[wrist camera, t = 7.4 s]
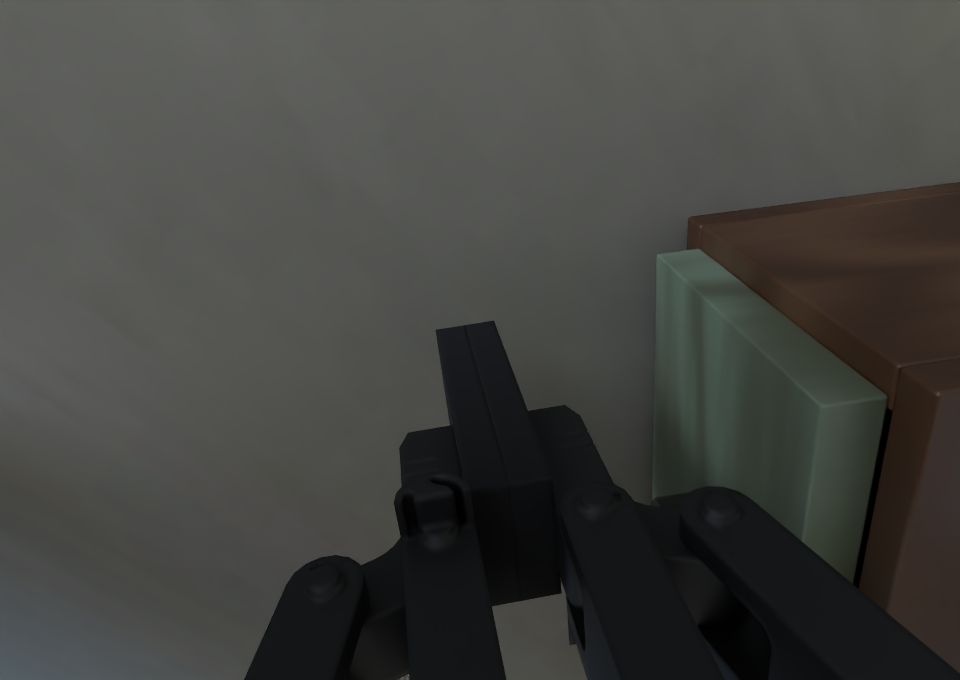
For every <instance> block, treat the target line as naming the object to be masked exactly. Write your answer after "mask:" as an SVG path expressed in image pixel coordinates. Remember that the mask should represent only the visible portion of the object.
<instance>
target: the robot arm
mask: <svg viewBox="0 0 960 680" xmlns="http://www.w3.org/2000/svg"><path fill="white" fill-rule="evenodd" d="M436 335H437V342H438V348H439V355H440V362H441V368H442V375H443V382H444V388H445V395H446V402H447V408H448V415H449V421H450V426H446V427H440V428H434V429H428V430H422V431H416V432H410V433H408V434H407V435H406V437H405V439H404V441H403V442H402V444H401V446H400V448H399V450H400V464H401V478H402V479H401V483H402V487H401V488H400V489H399V491H398V492H397V493H396V497H395V501H394V506H395V511H396V516H397V520H398V525H399V530H400V535H401V537H400V539H399V540H398V542H397V543H396V544H395V545H394V547H392V548H391V549H390V550H389V551H388V552H386V553H385V554H383V555H382V556H380V557H378V558H376V559H374V560H372V561H370V562H367V563H365V564H363V565H361V566H360V564H359V563H358V562H356V561H354V560H353V559H351V558H349V557H344V556H337V555H334V556H327V557H321V558H318V559H316V560H314V561H311V562H309V563H307V564H305V565H304V566H303V567H301V568H300V569H299V570H298V571H296V572H295V573H294V574H293V576H292V577H291V579H290V580H289V582H288V583H287V584H286V587H285V589H284V591H283V593H282V596H281V598H280V600H279V602H278V605H277V607H276V609H275V611H274V614H273V616H272V618H271V620H270V623H269V625H268V627H267V629H266V632H265V634H264V636H263V638H262V640H261V643H260V645H259V647H258V649H257V652H256V654H255V656H254V658H253V661H252V663H251V665H250V667H249V670H248V672H247V674H246V676H245V679H244V680H397V679H399V678H401V677H403V676H405V675H407V674H409V677H410V680H506V676H505V671H504V666H503V661H502V656H501V651H500V646H499V641H498V636H497V631H496V626H495V621H494V616H493V611H492V606H496V605H502V604H507V603H512V602H518V601H523V600H528V599H534V598H539V597H544V596H550V595H555V594H560V593H561V580H562V583H563V587H564V590H565V593H566V599H567V613H568V627H569V641H570V645H573V644H577V647H578V651H579V654H580V657H581V660H582V663H583V667H584V670H585V673H586V676H587V679H588V680H960V673H959V672H957V671H956V670H955V669H954V668H953V667H952V666H950V665H949V664H948V663H947V662H946V661H944V660H943V659H942V658H941V657H940V656H938V655H937V654H936V653H935V652H934V651H932V650H931V649H930V648H929V647H928V646H926V645H925V644H924V643H923V642H922V641H920V640H919V639H918V638H917V637H916V636H914V635H913V634H912V633H911V632H910V631H908V630H907V629H906V628H905V627H904V626H902V625H901V624H900V623H899V622H898V621H897V620H895V619H894V618H893V617H892V616H891V615H889V614H888V613H887V612H886V611H885V610H883V609H882V608H881V607H880V606H879V605H877V604H876V603H875V602H874V601H873V600H871V599H870V598H869V597H868V596H867V595H865V594H864V593H863V592H862V591H861V590H859V589H858V588H857V587H856V586H855V585H853V584H852V583H851V582H850V581H849V580H847V579H846V578H845V577H844V576H843V575H842V574H840V573H839V572H838V571H837V570H836V569H834V568H833V567H832V566H831V565H830V564H828V563H827V562H826V561H825V560H824V559H822V558H821V557H820V556H819V555H818V554H816V553H815V552H814V551H813V550H812V549H810V548H809V547H808V546H807V545H806V544H804V543H803V542H802V541H801V540H800V539H798V538H797V537H796V536H795V535H794V534H792V533H791V532H790V531H789V530H788V529H787V528H785V527H784V526H783V525H782V524H781V523H779V522H778V521H777V520H776V519H775V518H773V517H772V516H771V515H770V514H769V513H767V512H766V511H765V510H764V509H763V508H761V507H760V506H759V505H758V504H757V503H755V502H754V501H753V500H752V499H751V498H749V497H747V496H746V495H744V494H742V493H741V492H739V491H736V490H733V489H729V488H726V487H715V486H708V487H703V488H698V489H695V490H693V491H691V492H690V493H688V494H686V495H685V496H684V498H683V500H682V501H681V503H680V508H672V507H656V506H649V505H644V504H641V503H638V502H635V501H633V499H632V498H631V496H630V495H629V494H628V493H627V492H626V491H625V490H624V489H622V488H620V487H618V486H617V485H615V484H614V483H613V481H612V479H611V477H610V475H609V473H608V471H607V469H606V467H605V465H604V463H603V461H602V459H601V457H600V455H599V453H598V451H597V449H596V447H595V445H594V444H593V441H592V439H591V437H590V435H589V433H588V432H587V429H586V427H585V425H584V423H583V421H582V419H581V417H580V415H578V414H577V413H575V412H574V411H573V410H571V409H570V408H568V407H567V406H566V405H562V406H556V407H550V408H544V409H538V410H532V411H528V410H527V408H526V405H525V402H524V400H523V397H522V394H521V392H520V389H519V386H518V384H517V381H516V378H515V376H514V373H513V370H512V368H511V365H510V362H509V360H508V357H507V354H506V352H505V349H504V346H503V344H502V341H501V338H500V336H499V333H498V330H497V328H496V325H495V322H494V321H490V322H483V323H477V324H470V325H464V326H458V327H451V328H445V329H438V330H436ZM560 577H561V580H560Z"/></svg>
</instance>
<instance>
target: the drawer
mask: <svg viewBox="0 0 960 680" xmlns="http://www.w3.org/2000/svg"><path fill="white" fill-rule="evenodd" d="M887 403H888V396H887V395H886V394H885V393H883V392H882V391H881V390H880V389H878V388H877V387H876V386H875V385H873V384H872V383H871V382H869V381H868V380H867V379H866V378H864V377H863V376H862V375H860V374H859V373H858V372H857V371H855V370H854V369H853V368H851V367H850V366H849V365H848V364H846V363H845V362H844V361H843V360H841V359H840V358H839V357H837V356H836V355H835V354H834V353H832V352H831V351H830V350H828V349H827V348H826V347H825V346H823V345H822V344H821V343H820V342H818V341H817V340H816V339H814V338H813V337H812V336H811V335H809V334H808V333H807V332H805V331H804V330H803V329H802V328H800V327H799V326H798V325H796V324H795V323H794V322H793V321H791V320H790V319H789V318H788V317H786V316H785V315H784V314H782V313H781V312H780V311H779V310H777V309H776V308H775V307H773V306H772V305H771V304H770V303H768V302H767V301H766V300H764V299H763V298H762V297H761V296H759V295H758V294H757V293H756V292H754V291H753V290H752V289H750V288H749V287H748V286H747V285H745V284H744V283H743V282H741V281H740V280H739V279H738V278H736V277H735V276H734V275H732V274H731V273H730V272H729V271H727V270H726V269H725V268H724V267H722V266H721V265H720V264H718V263H717V262H716V261H715V260H713V259H712V258H711V257H709V256H708V255H707V254H706V253H704V252H703V251H702V250H701V249H692V250H685V251H677V252H670V253H662V254H657V267H656V323H655V379H654V435H653V491H652V502H651V506H656V507H672V508H680V503H681V501H682V500H683V498H684V496H685V495H686V494H688V493H690V492H691V491H693V490H695V489H698V488H703V487H708V486H715V487H726V488H729V489H733V490H736V491H739V492H741V493H742V494H744V495H746V496H747V497H749V498H751V499H752V500H753V501H754V502H755V503H757V504H758V505H759V506H760V507H761V508H763V509H764V510H765V511H766V512H767V513H769V514H770V515H771V516H772V517H773V518H775V519H776V520H777V521H778V522H779V523H781V524H782V525H783V526H784V527H785V528H787V529H788V530H789V531H790V532H791V533H792V534H794V535H795V536H796V537H797V538H798V539H800V540H801V541H802V542H803V543H804V544H806V545H807V546H808V547H809V548H810V549H812V550H813V551H814V552H815V553H816V554H818V555H819V556H820V557H821V558H822V559H824V560H825V561H826V562H827V563H828V564H830V565H831V566H832V567H833V568H834V569H836V570H837V571H838V572H839V573H840V574H842V575H843V576H844V577H845V578H846V579H847V580H849V581H850V582H851V583H852V584H853V585H855V586H856V587H857V588H858V587H859V582H860V577H861V572H862V567H863V562H864V556H865V551H866V546H867V541H868V536H869V531H870V525H871V520H872V515H873V510H874V505H875V500H876V494H877V489H878V484H879V479H880V474H881V468H882V463H883V458H884V453H885V448H886V443H887V437H888V432H889V427H890V422H891V417H892V412H893V410H890V409H887Z"/></svg>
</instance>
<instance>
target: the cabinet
mask: <svg viewBox="0 0 960 680" xmlns="http://www.w3.org/2000/svg"><path fill="white" fill-rule="evenodd" d="M692 249H701V250H702V251H703V252H704V253H706V254H707V255H708V256H709V257H711V258H712V259H713V260H715V261H716V262H717V263H718V264H720V265H721V266H722V267H724V268H725V269H726V270H727V271H729V272H730V273H731V274H732V275H734V276H735V277H736V278H738V279H739V280H740V281H741V282H743V283H744V284H745V285H747V286H748V287H749V288H750V289H752V290H753V291H754V292H756V293H757V294H758V295H759V296H761V297H762V298H763V299H764V300H766V301H767V302H768V303H770V304H771V305H772V306H773V307H775V308H776V309H777V310H779V311H780V312H781V313H782V314H784V315H785V316H786V317H788V318H789V319H790V320H791V321H793V322H794V323H795V324H796V325H798V326H799V327H800V328H802V329H803V330H804V331H805V332H807V333H808V334H809V335H811V336H812V337H813V338H814V339H816V340H817V341H818V342H820V343H821V344H822V345H823V346H825V347H826V348H827V349H828V350H830V351H831V352H832V353H834V354H835V355H836V356H837V357H839V358H840V359H841V360H843V361H844V362H845V363H846V364H848V365H849V366H850V367H851V368H853V369H854V370H855V371H857V372H858V373H859V374H860V375H862V376H863V377H864V378H866V379H867V380H868V381H869V382H871V383H872V384H873V385H875V386H876V387H877V388H878V389H880V390H881V391H882V392H883V393H885V394H886V395H887V396H888V403H887V409H890V410H893V412H892V417H891V422H890V427H889V432H888V437H887V443H886V448H885V453H884V458H883V463H882V468H881V474H880V479H879V484H878V489H877V494H876V500H875V505H874V510H873V515H872V520H871V525H870V531H869V536H868V541H867V546H866V551H865V556H864V562H863V567H862V572H861V577H860V582H859V587H858V589H859V590H861V591H862V592H863V593H864V594H865V595H867V596H868V597H869V598H870V599H871V600H873V601H874V602H875V603H876V604H877V605H879V606H880V607H881V608H882V609H883V610H885V611H886V612H887V613H888V614H889V615H891V616H892V617H893V618H894V619H895V620H897V621H898V622H899V623H900V624H901V625H902V626H904V627H905V628H906V629H907V630H908V631H910V632H911V633H912V634H913V635H914V636H916V637H917V638H918V639H919V640H920V641H922V642H923V643H924V644H925V645H926V646H928V647H929V648H930V649H931V650H932V651H934V652H935V653H936V654H937V655H938V656H940V657H941V658H942V659H943V660H944V661H946V662H947V663H948V664H949V665H950V666H952V667H953V668H954V669H955V670H956V671H957V672H959V673H960V182H957V183H950V184H942V185H934V186H926V187H918V188H911V189H903V190H895V191H887V192H880V193H872V194H864V195H856V196H848V197H841V198H833V199H825V200H817V201H810V202H802V203H794V204H786V205H778V206H771V207H763V208H755V209H747V210H740V211H732V212H724V213H716V214H708V215H701V216H693V217H690V218H689V219H688V239H687V250H692Z"/></svg>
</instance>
